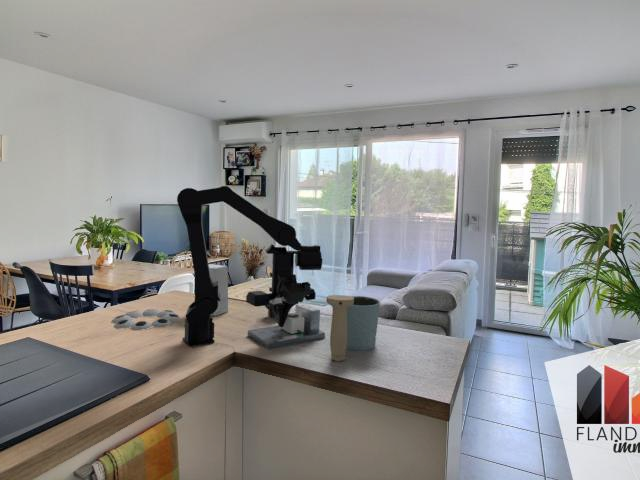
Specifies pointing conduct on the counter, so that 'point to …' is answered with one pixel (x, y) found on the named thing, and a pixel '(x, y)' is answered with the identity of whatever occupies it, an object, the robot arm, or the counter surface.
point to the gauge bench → (280, 337)
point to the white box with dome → (294, 323)
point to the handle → (339, 325)
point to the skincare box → (220, 286)
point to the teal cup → (362, 323)
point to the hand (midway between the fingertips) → (281, 326)
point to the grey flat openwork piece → (127, 318)
